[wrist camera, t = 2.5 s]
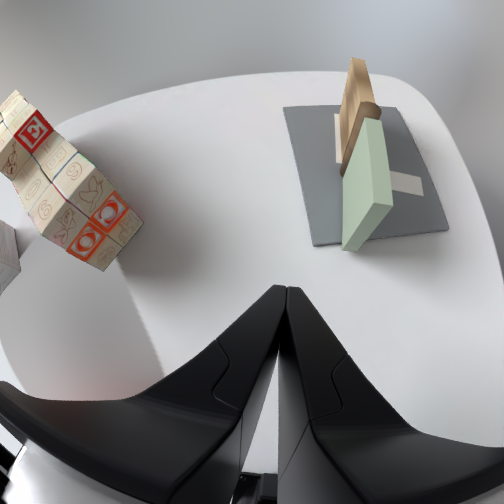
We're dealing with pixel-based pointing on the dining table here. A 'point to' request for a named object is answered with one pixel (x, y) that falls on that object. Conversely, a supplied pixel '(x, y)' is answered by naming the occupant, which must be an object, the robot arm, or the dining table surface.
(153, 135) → the dining table surface
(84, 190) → the stack of blocks
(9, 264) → the supplement box
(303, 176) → the board
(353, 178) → the fence hinged panel
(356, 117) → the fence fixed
